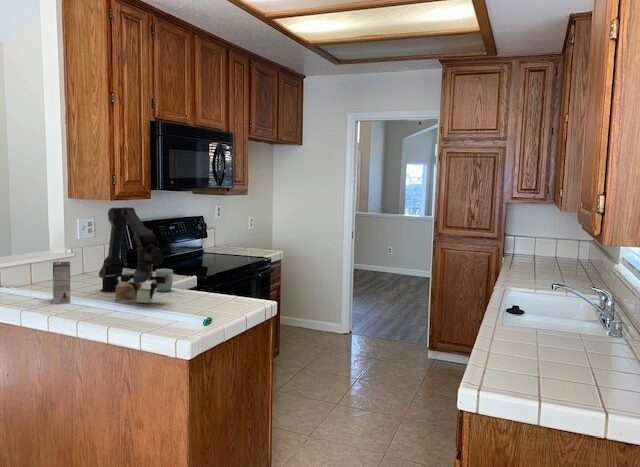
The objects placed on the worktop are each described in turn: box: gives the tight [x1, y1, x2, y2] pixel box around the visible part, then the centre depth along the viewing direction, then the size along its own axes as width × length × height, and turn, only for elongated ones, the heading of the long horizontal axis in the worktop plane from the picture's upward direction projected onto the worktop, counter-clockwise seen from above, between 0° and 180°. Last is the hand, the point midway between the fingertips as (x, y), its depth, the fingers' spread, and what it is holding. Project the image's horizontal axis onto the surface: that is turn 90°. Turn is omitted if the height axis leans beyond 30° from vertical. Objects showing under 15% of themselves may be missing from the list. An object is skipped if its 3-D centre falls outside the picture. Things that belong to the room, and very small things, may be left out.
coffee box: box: [52, 260, 71, 305], centre depth 204 cm, size 9×6×16 cm
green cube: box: [136, 287, 154, 304], centre depth 207 cm, size 5×5×5 cm
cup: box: [154, 268, 174, 293], centre depth 231 cm, size 8×8×10 cm
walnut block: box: [115, 281, 143, 301], centre depth 216 cm, size 9×9×6 cm
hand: (144, 298), depth 207 cm, fingers closed on green cube, 5 cm apart
